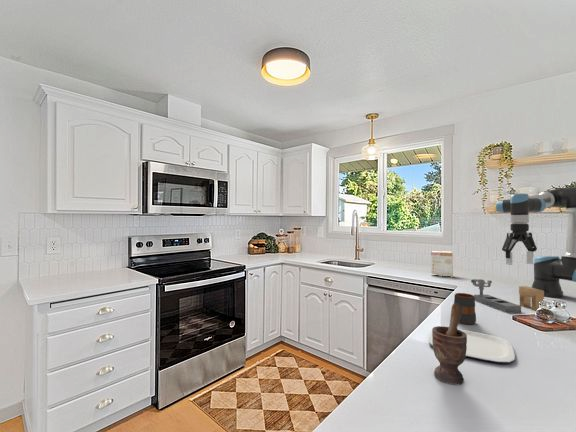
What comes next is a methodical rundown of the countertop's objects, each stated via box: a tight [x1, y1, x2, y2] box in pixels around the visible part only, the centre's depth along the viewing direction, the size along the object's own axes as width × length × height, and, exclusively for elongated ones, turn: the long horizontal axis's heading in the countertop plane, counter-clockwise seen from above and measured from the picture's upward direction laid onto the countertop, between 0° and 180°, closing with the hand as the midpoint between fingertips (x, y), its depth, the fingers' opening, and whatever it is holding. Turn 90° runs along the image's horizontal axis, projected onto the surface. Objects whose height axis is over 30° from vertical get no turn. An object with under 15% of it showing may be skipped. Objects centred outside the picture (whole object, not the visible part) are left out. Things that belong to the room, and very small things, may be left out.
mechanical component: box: [470, 278, 492, 295], centre depth 173 cm, size 3×10×10 cm, turn 79°
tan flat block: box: [518, 285, 545, 312], centre depth 152 cm, size 4×10×10 cm, turn 5°
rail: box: [473, 294, 522, 313], centre depth 156 cm, size 8×22×3 cm, turn 5°
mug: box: [453, 292, 477, 326], centre depth 132 cm, size 9×12×12 cm
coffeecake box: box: [430, 250, 454, 276], centre depth 238 cm, size 15×7×20 cm, turn 58°
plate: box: [428, 328, 516, 364], centre depth 106 cm, size 25×25×2 cm
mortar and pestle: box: [431, 302, 467, 385], centre depth 86 cm, size 12×9×20 cm
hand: (519, 264), depth 155 cm, fingers open, 13 cm apart
